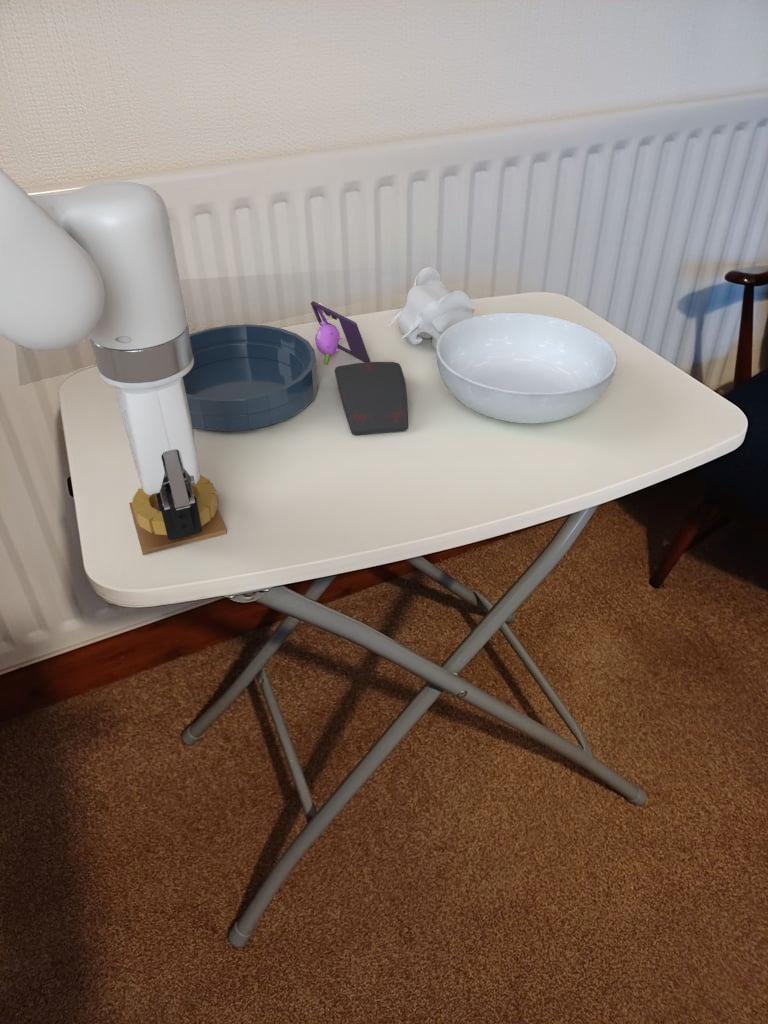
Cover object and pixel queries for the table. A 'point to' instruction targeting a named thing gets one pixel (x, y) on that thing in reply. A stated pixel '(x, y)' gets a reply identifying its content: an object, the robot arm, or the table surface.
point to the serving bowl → (525, 366)
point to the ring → (154, 519)
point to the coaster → (161, 542)
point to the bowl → (248, 377)
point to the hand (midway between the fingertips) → (182, 524)
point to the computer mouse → (373, 397)
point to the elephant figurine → (431, 308)
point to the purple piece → (338, 335)
